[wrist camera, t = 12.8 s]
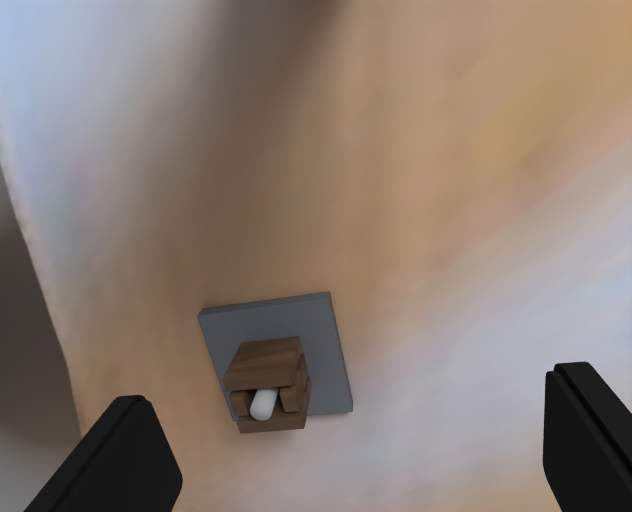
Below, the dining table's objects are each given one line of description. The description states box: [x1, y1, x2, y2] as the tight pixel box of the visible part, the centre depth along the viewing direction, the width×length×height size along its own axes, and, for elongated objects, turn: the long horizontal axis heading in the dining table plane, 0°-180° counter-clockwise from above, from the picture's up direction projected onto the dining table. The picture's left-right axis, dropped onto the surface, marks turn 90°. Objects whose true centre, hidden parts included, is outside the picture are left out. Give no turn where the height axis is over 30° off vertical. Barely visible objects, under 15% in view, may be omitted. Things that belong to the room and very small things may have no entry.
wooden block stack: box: [222, 336, 312, 433], centre depth 39 cm, size 6×6×6 cm
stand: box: [198, 292, 353, 421], centre depth 40 cm, size 14×14×8 cm
